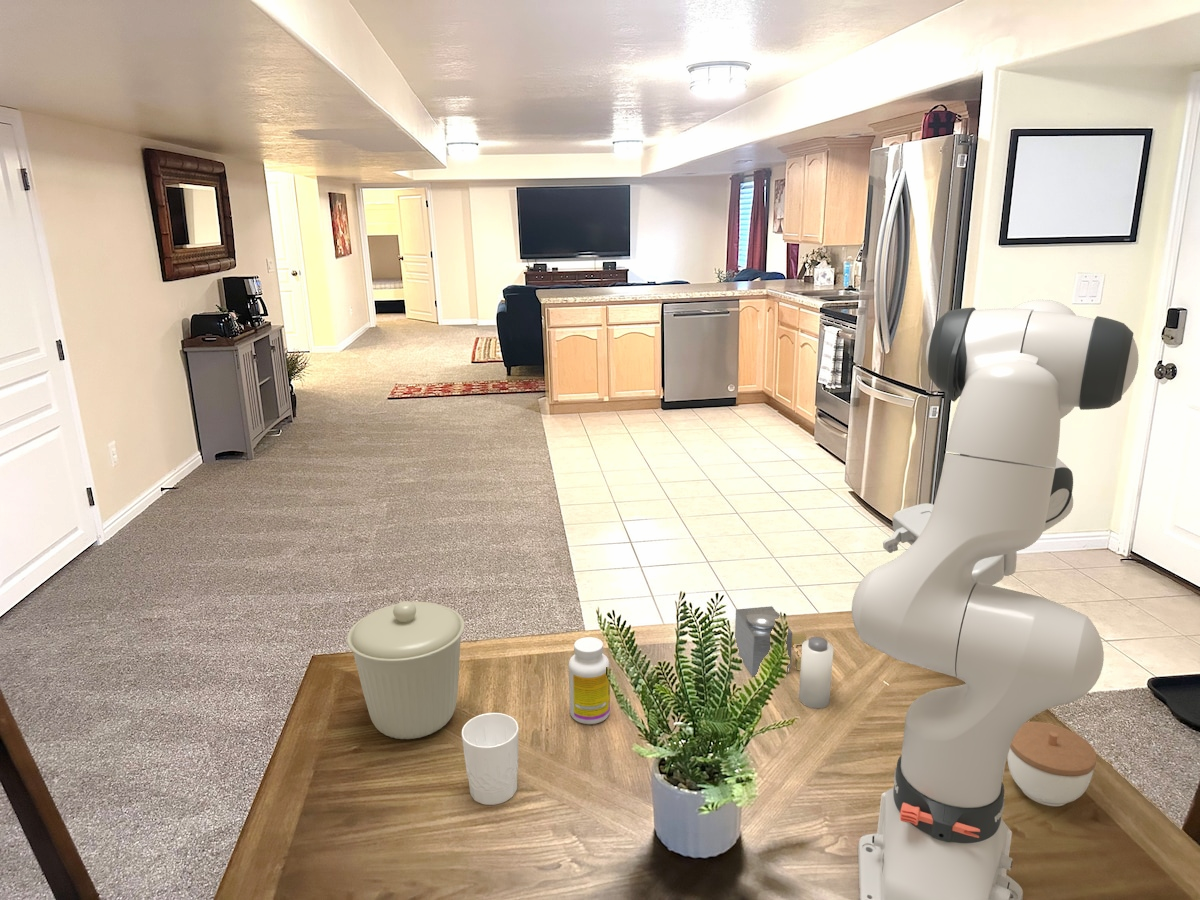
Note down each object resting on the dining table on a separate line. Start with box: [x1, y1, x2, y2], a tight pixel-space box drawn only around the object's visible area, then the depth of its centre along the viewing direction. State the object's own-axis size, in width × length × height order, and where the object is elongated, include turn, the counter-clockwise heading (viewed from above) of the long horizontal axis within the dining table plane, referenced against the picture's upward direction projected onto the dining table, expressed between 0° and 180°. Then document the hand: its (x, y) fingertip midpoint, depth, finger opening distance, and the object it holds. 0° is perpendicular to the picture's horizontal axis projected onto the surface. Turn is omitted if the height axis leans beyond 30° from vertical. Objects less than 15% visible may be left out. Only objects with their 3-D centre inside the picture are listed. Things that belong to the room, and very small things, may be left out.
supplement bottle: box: [568, 636, 611, 725], centre depth 130 cm, size 7×7×13 cm
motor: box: [734, 605, 807, 678], centre depth 147 cm, size 13×14×9 cm
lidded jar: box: [1007, 721, 1098, 807], centre depth 112 cm, size 11×11×9 cm
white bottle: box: [798, 636, 834, 710], centre depth 133 cm, size 5×5×11 cm
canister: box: [346, 600, 466, 740], centre depth 128 cm, size 18×18×21 cm
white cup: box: [461, 712, 519, 806], centre depth 113 cm, size 8×8×10 cm
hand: (903, 562), depth 129 cm, fingers open, 8 cm apart
